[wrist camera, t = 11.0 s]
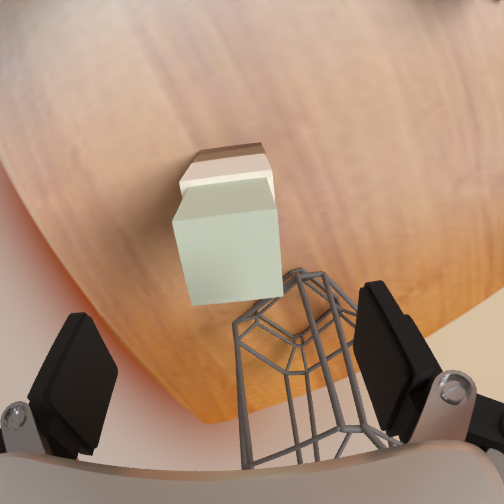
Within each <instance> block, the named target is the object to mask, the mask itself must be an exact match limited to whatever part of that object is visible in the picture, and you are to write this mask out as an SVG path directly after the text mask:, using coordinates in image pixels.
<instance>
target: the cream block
mask: <svg viewBox="0 0 504 504" xmlns="http://www.w3.org/2000/svg"><path fill="white" fill-rule="evenodd" d="M261 177H267V180H268V183H269V186H270V189H271V192H272V195H273V198H274V201H275V196H274V186H273V175H272V169H271V166H270V164H269V162H268V160H267V158H266V155H265V153H264V154H255V155H246V156H238V157H230V158H223V159H216V160H209V161H202V162H195V163H191V165H190V166H189V168H188V169H187V171H186V172H185V174H184V175H183V177H182V178H181V180H180V181H179V184H180V189H181V195H182V200H183V198H184V196H185V194H186V192H187V190H188V188H189V187H191V186H197V185H205V184H212V183H220V182H227V181H235V180H244V179H252V178H261Z"/></svg>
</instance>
